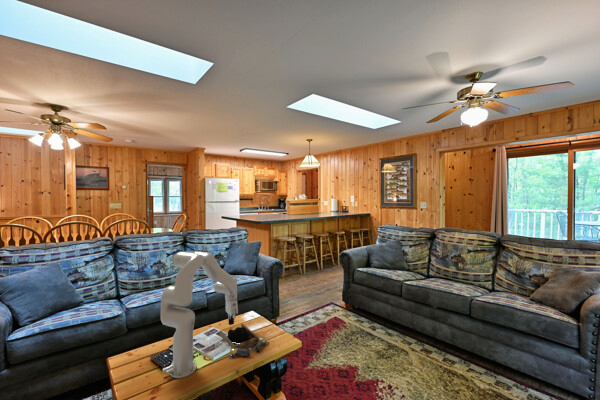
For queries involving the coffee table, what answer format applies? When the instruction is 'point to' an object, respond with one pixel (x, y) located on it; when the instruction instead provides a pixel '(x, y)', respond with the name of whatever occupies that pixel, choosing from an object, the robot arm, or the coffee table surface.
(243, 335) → the film camera
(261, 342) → the lever right
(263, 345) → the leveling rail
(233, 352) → the lever left
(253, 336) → the dock
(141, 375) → the coffee table surface
